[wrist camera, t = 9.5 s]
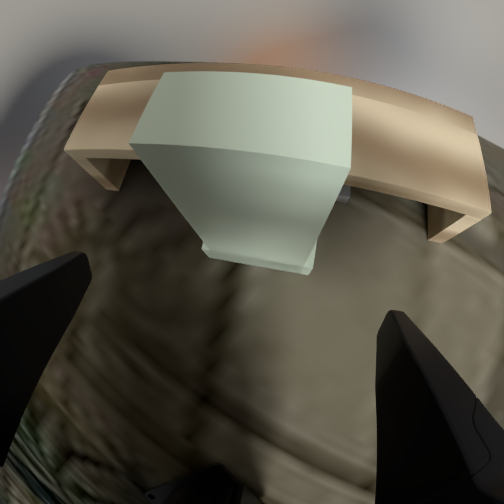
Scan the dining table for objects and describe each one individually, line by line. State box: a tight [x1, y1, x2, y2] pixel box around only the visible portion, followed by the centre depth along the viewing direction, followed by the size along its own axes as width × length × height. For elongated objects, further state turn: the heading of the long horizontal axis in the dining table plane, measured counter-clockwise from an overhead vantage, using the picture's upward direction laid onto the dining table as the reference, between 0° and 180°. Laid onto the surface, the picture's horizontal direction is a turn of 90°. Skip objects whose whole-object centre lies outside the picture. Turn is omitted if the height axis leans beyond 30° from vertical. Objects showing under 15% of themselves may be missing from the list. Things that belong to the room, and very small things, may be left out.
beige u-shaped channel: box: [64, 63, 492, 243], centre depth 16 cm, size 7×24×6 cm, turn 79°
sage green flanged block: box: [129, 71, 352, 275], centre depth 13 cm, size 8×6×12 cm
